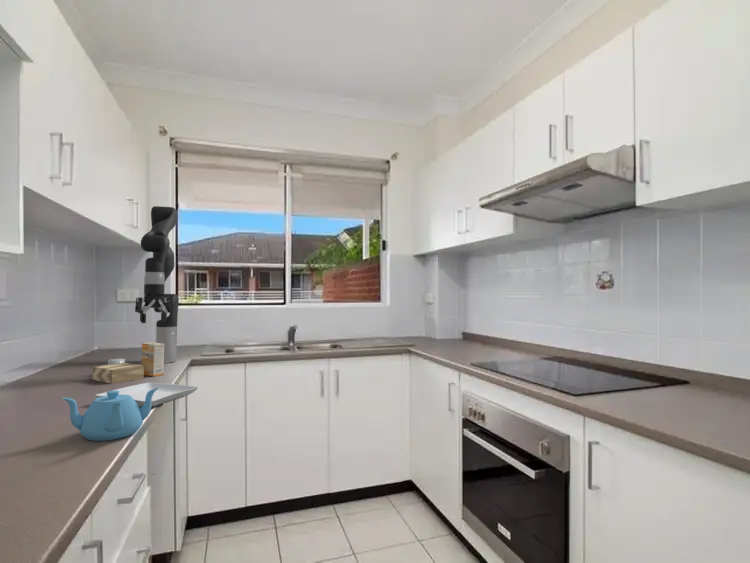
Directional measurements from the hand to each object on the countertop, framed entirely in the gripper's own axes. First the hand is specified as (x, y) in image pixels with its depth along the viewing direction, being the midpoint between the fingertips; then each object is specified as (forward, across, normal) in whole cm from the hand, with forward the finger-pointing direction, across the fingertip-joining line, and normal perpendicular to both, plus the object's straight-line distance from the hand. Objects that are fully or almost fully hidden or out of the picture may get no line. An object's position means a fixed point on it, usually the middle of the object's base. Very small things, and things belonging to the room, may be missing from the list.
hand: (153, 322), depth 177 cm
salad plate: (+22, +24, +38) cm, 50 cm away
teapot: (+22, +49, +63) cm, 82 cm away
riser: (+22, +12, -3) cm, 25 cm away
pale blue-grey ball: (+22, +7, -14) cm, 27 cm away
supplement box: (+22, 0, 0) cm, 22 cm away
